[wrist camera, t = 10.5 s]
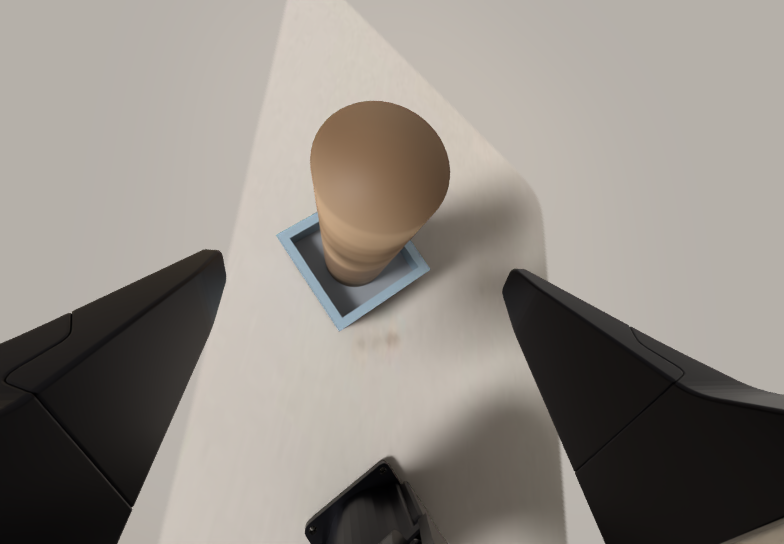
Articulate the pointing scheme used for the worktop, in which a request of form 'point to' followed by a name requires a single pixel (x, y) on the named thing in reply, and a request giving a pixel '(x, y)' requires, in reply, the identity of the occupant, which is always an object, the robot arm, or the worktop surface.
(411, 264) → the light blue open box
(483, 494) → the worktop surface
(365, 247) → the pillar
